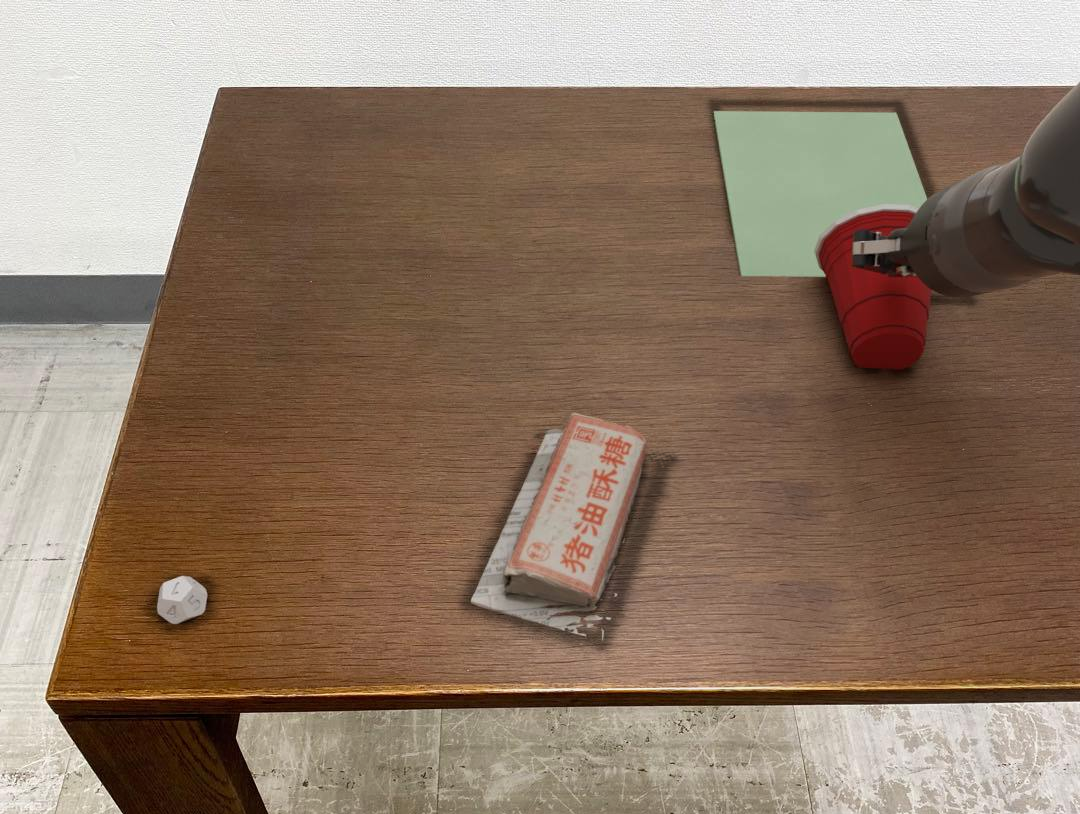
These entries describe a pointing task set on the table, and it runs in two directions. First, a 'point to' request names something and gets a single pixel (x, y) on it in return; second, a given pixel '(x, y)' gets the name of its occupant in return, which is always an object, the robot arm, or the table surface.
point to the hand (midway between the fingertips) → (896, 263)
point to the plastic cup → (875, 293)
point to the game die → (181, 599)
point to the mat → (807, 180)
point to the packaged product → (565, 524)
